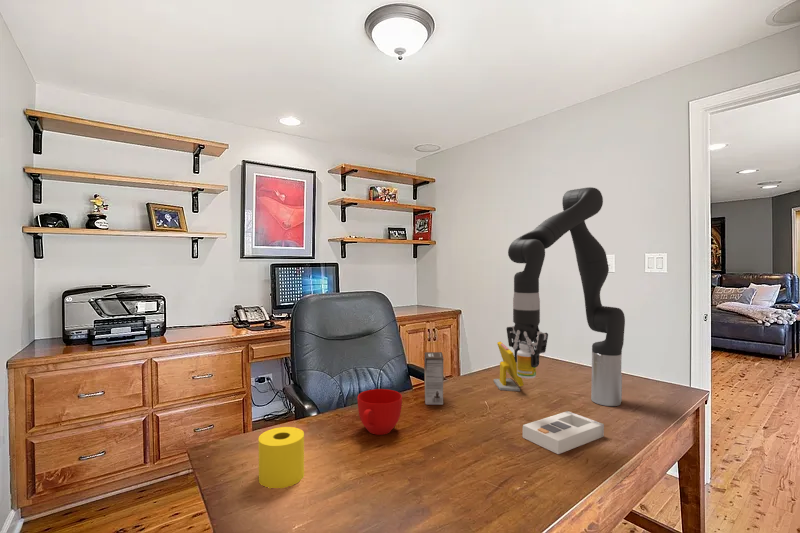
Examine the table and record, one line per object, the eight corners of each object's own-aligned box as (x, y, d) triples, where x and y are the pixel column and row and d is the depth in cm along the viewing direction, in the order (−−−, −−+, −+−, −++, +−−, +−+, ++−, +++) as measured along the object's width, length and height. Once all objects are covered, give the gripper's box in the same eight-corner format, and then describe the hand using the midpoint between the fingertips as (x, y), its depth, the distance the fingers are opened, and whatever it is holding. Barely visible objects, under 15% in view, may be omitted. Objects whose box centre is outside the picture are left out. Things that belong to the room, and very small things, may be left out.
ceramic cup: (342, 441, 113) (342, 405, 113) (368, 418, 129) (368, 386, 129) (387, 449, 109) (387, 411, 108) (408, 424, 124) (408, 391, 124)
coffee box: (424, 395, 150) (424, 351, 150) (441, 395, 150) (442, 351, 150) (425, 404, 141) (425, 357, 141) (443, 405, 141) (444, 358, 141)
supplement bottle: (536, 379, 119) (536, 345, 119) (517, 378, 121) (517, 345, 120) (535, 373, 125) (534, 341, 124) (516, 372, 126) (516, 341, 125)
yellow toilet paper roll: (260, 492, 89) (260, 449, 88) (256, 470, 98) (256, 431, 97) (307, 482, 93) (307, 441, 92) (299, 462, 102) (299, 424, 101)
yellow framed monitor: (523, 394, 152) (524, 351, 152) (502, 394, 152) (502, 351, 152) (510, 378, 172) (510, 340, 172) (491, 378, 172) (491, 340, 172)
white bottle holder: (567, 422, 127) (567, 409, 126) (603, 436, 117) (603, 422, 117) (522, 437, 116) (522, 423, 116) (558, 454, 106) (558, 439, 106)
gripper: (555, 309, 118) (555, 368, 118) (516, 304, 130) (516, 357, 131) (537, 311, 114) (537, 372, 114) (499, 305, 126) (499, 361, 127)
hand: (526, 364), depth 123 cm, fingers closed on supplement bottle, 5 cm apart
